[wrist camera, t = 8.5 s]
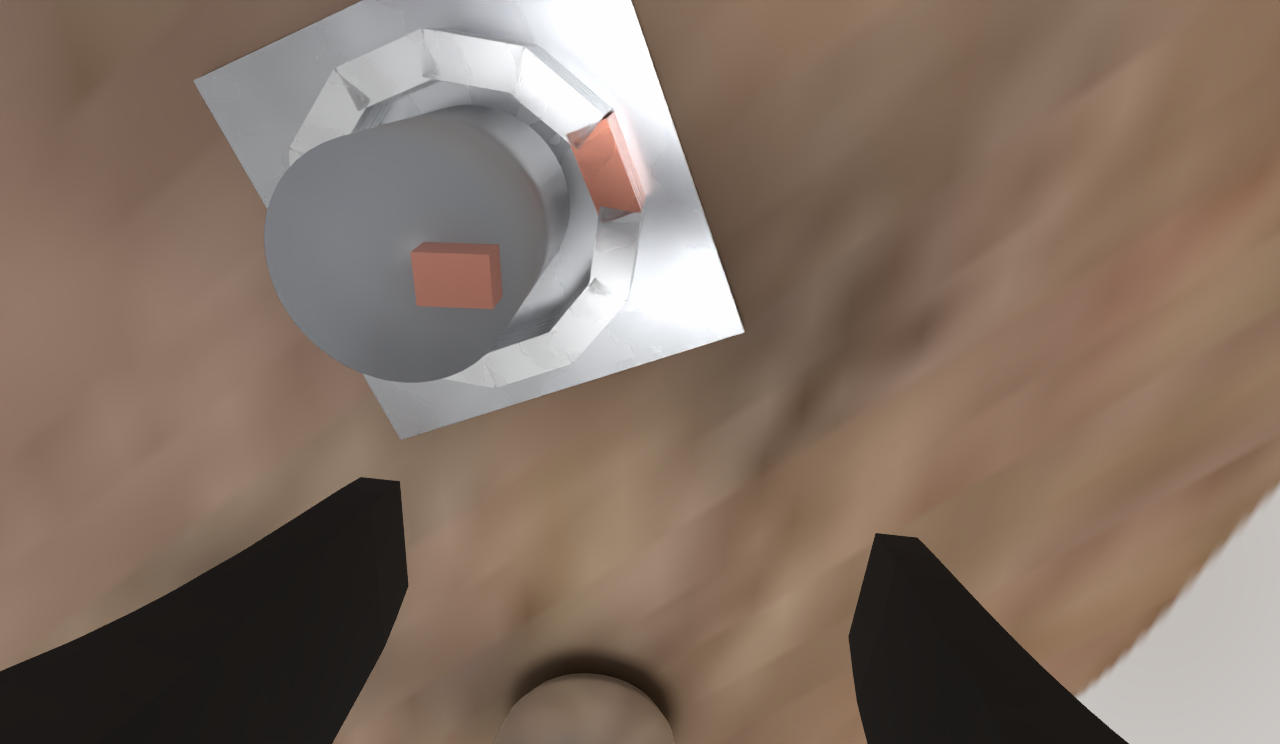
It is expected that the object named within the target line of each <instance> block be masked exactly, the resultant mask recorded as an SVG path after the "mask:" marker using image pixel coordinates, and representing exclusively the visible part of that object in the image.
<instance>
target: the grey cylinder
mask: <svg viewBox="0 0 1280 744" xmlns="http://www.w3.org/2000/svg"><path fill="white" fill-rule="evenodd" d="M569 205H570V204H569V193H568V188H567V184H566V180H565V177H564V174H563V171H562V168H561V166H560V164H559V162H558V160H557V158H556V156H555V155H554V153H553V152H552V150H551V149H550V147H549V146H548V145H547V143H546V142H545V141H544V140H543V139H542V138H541V136H540V135H539V134H537V133H536V132H535V131H534V130H533V129H532V128H531V127H530V126H528V125H527V124H525V123H524V122H523V121H521V120H520V119H518V118H516V117H514V116H512V115H511V114H509V113H506V112H504V111H501V110H498V109H496V108H491V107H487V106H481V105H457V106H452V107H447V108H443V109H440V110H436V111H432V112H428V113H425V114H421V115H417V116H414V117H410V118H406V119H403V120H399V121H395V122H392V123H388V124H384V125H381V126H377V127H373V128H370V129H366V130H362V131H359V132H355V133H351V134H348V135H344V136H340V137H337V138H334V139H332V140H329V141H326V142H323V143H321V144H319V145H318V146H316V147H314V148H312V149H310V150H309V151H307V152H306V153H305V154H304V155H302V156H301V157H300V158H298V159H297V160H296V161H295V162H294V163H293V164H292V165H291V166H290V168H289V169H288V170H287V171H286V172H285V174H284V175H283V177H282V178H281V180H280V181H279V183H278V184H277V186H276V188H275V190H274V193H273V195H272V197H271V199H270V203H269V206H268V210H267V214H266V220H265V228H264V247H265V254H266V262H267V266H268V269H269V273H270V277H271V280H272V282H273V285H274V287H275V290H276V292H277V295H278V296H279V298H280V300H281V302H282V304H283V306H284V308H285V309H286V311H287V312H288V314H289V315H290V317H291V318H292V319H293V321H294V322H295V324H296V325H297V326H298V327H299V328H300V329H301V331H302V332H303V333H304V334H305V335H306V336H307V337H308V338H309V339H310V340H311V341H312V342H313V343H314V344H315V345H316V346H318V347H319V348H320V349H321V350H323V351H324V352H325V353H327V354H328V355H329V356H331V357H332V358H334V359H335V360H337V361H339V362H340V363H342V364H344V365H345V366H347V367H349V368H352V369H354V370H356V371H358V372H360V373H363V374H366V375H369V376H372V377H375V378H379V379H383V380H388V381H395V382H404V383H419V382H428V381H435V380H439V379H442V378H446V377H450V376H452V375H454V374H457V373H459V372H461V371H463V370H465V369H467V368H468V367H470V366H472V365H473V364H475V363H476V362H477V361H479V360H480V359H481V358H482V357H483V356H485V355H486V354H487V353H488V352H489V351H490V349H491V348H492V347H493V346H494V345H495V344H496V342H497V341H498V339H499V338H500V336H501V335H502V333H503V332H504V331H505V329H506V328H507V326H508V325H509V323H510V322H511V320H512V319H513V317H514V316H515V314H516V313H517V311H518V310H519V308H520V307H521V305H522V304H523V302H524V301H525V299H526V298H527V296H528V295H529V293H530V292H531V290H532V289H533V287H534V286H535V284H536V283H537V281H538V280H539V278H540V277H541V275H542V274H543V272H544V271H545V269H546V268H547V266H548V265H549V263H550V262H551V260H552V259H553V257H554V256H555V254H556V253H557V251H558V250H559V248H560V246H561V244H562V242H563V239H564V236H565V233H566V230H567V226H568V220H569Z"/></svg>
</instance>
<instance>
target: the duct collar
mask: <svg viewBox="0 0 1280 744" xmlns="http://www.w3.org/2000/svg"><path fill="white" fill-rule="evenodd" d="M193 81H194V83H195V85H196V87H197V88H198V90H199V92H200V93H201V95H202V97H203V99H204V100H205V102H206V104H207V106H208V107H209V109H210V111H211V113H212V114H213V116H214V118H215V119H216V121H217V123H218V125H219V126H220V128H221V130H222V132H223V133H224V135H225V137H226V138H227V140H228V142H229V144H230V145H231V147H232V149H233V151H234V152H235V154H236V156H237V157H238V159H239V161H240V163H241V164H242V166H243V168H244V170H245V171H246V173H247V175H248V177H249V178H250V180H251V182H252V183H253V185H254V187H255V189H256V190H257V192H258V194H259V196H260V197H261V199H262V201H263V202H264V204H265V206H266V208H267V209H268V206H269V203H270V199H271V197H272V195H273V193H274V190H275V188H276V186H277V184H278V183H279V181H280V180H281V178H282V177H283V175H284V174H285V172H286V171H287V170H288V169H289V168H290V166H291V165H292V164H293V163H294V162H295V161H296V160H297V159H298V158H300V157H301V156H302V155H304V154H305V153H306V152H307V151H309V150H310V149H312V148H314V147H316V146H318V145H319V144H321V143H323V142H326V141H329V140H332V139H334V138H337V137H340V136H344V135H348V134H351V133H355V132H359V131H362V130H366V129H370V128H373V127H377V126H381V125H384V124H388V123H392V122H395V121H399V120H403V119H406V118H410V117H414V116H417V115H421V114H425V113H428V112H432V111H436V110H440V109H443V108H447V107H452V106H457V105H481V106H487V107H491V108H496V109H498V110H501V111H504V112H506V113H509V114H511V115H512V116H514V117H516V118H518V119H520V120H521V121H523V122H524V123H525V124H527V125H528V126H530V127H531V128H532V129H533V130H534V131H535V132H536V133H537V134H539V135H540V136H541V138H542V139H543V140H544V141H545V142H546V143H547V145H548V146H549V147H550V149H551V150H552V152H553V153H554V155H555V156H556V158H557V160H558V162H559V164H560V166H561V168H562V171H563V174H564V177H565V180H566V184H567V188H568V193H569V204H570V205H569V220H568V226H567V230H566V233H565V236H564V239H563V242H562V244H561V246H560V248H559V250H558V251H557V253H556V254H555V256H554V257H553V259H552V260H551V262H550V263H549V265H548V266H547V268H546V269H545V271H544V272H543V274H542V275H541V277H540V278H539V280H538V281H537V283H536V284H535V286H534V287H533V289H532V290H531V292H530V293H529V295H528V296H527V298H526V299H525V301H524V302H523V304H522V305H521V307H520V308H519V310H518V311H517V313H516V314H515V316H514V317H513V319H512V320H511V322H510V323H509V325H508V326H507V328H506V329H505V331H504V332H503V333H502V335H501V336H500V338H499V339H498V341H497V342H496V344H495V345H494V346H493V347H492V348H491V349H490V351H489V352H488V353H487V354H486V355H485V356H483V357H482V358H481V359H480V360H479V361H477V362H476V363H475V364H473V365H472V366H470V367H468V368H467V369H465V370H463V371H461V372H459V373H457V374H454V375H452V376H450V377H446V378H442V379H439V380H435V381H428V382H419V383H404V382H395V381H388V380H383V379H379V378H375V377H372V376H369V375H366V374H363V373H362V374H363V375H364V377H365V379H366V381H367V382H368V384H369V386H370V388H371V389H372V391H373V393H374V395H375V396H376V398H377V400H378V401H379V403H380V405H381V407H382V408H383V410H384V412H385V414H386V415H387V417H388V419H389V420H390V422H391V424H392V426H393V427H394V429H395V431H396V433H397V434H398V436H399V438H400V440H402V439H405V438H408V437H412V436H415V435H418V434H421V433H424V432H428V431H431V430H434V429H437V428H440V427H444V426H447V425H450V424H453V423H456V422H460V421H463V420H466V419H469V418H472V417H476V416H479V415H482V414H485V413H488V412H492V411H495V410H498V409H501V408H504V407H507V406H511V405H514V404H517V403H520V402H523V401H527V400H530V399H533V398H536V397H539V396H543V395H546V394H549V393H552V392H555V391H559V390H562V389H565V388H568V387H571V386H575V385H578V384H581V383H584V382H587V381H590V380H594V379H597V378H600V377H603V376H606V375H610V374H613V373H616V372H619V371H622V370H626V369H629V368H632V367H635V366H638V365H642V364H645V363H648V362H651V361H654V360H658V359H661V358H664V357H667V356H670V355H674V354H677V353H680V352H683V351H686V350H689V349H693V348H696V347H699V346H702V345H705V344H709V343H712V342H715V341H718V340H721V339H725V338H728V337H731V336H734V335H737V334H741V333H744V326H743V323H742V320H741V317H740V314H739V311H738V308H737V306H736V303H735V300H734V297H733V294H732V291H731V288H730V285H729V282H728V279H727V276H726V273H725V270H724V268H723V265H722V262H721V259H720V256H719V253H718V250H717V247H716V244H715V241H714V238H713V235H712V232H711V230H710V227H709V224H708V221H707V218H706V215H705V212H704V209H703V206H702V203H701V200H700V197H699V194H698V192H697V189H696V186H695V183H694V180H693V177H692V174H691V171H690V168H689V165H688V162H687V159H686V156H685V154H684V151H683V148H682V145H681V142H680V139H679V136H678V133H677V130H676V127H675V124H674V121H673V118H672V116H671V113H670V110H669V107H668V104H667V101H666V98H665V95H664V92H663V89H662V86H661V83H660V80H659V78H658V75H657V72H656V69H655V66H654V63H653V60H652V57H651V54H650V51H649V48H648V45H647V42H646V40H645V37H644V34H643V31H642V28H641V25H640V22H639V19H638V16H637V13H636V10H635V7H634V5H633V2H632V0H362V1H360V2H358V3H356V4H354V5H352V6H350V7H348V8H346V9H343V10H341V11H339V12H337V13H335V14H333V15H331V16H329V17H326V18H324V19H322V20H320V21H318V22H316V23H314V24H312V25H310V26H307V27H305V28H303V29H301V30H299V31H297V32H295V33H293V34H291V35H288V36H286V37H284V38H282V39H280V40H278V41H276V42H274V43H272V44H269V45H267V46H265V47H263V48H261V49H259V50H257V51H255V52H253V53H250V54H248V55H246V56H244V57H242V58H240V59H238V60H236V61H234V62H231V63H229V64H227V65H225V66H223V67H221V68H219V69H217V70H215V71H212V72H210V73H208V74H206V75H204V76H202V77H200V78H198V79H196V80H193Z"/></svg>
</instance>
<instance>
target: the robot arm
mask: <svg viewBox="0 0 1280 744" xmlns="http://www.w3.org/2000/svg"><path fill="white" fill-rule="evenodd" d="M407 588H408V575H407V563H406V551H405V539H404V526H403V514H402V502H401V490H400V481H391V480H382V479H373V478H364V477H360V478H359V479H357V480H355V481H353V482H352V483H350V484H348V485H347V486H345V487H343V488H342V489H340V490H338V491H337V492H335V493H334V494H332V495H330V496H329V497H327V498H326V499H324V500H323V501H321V502H319V503H318V504H316V505H315V506H313V507H312V508H310V509H309V510H307V511H305V512H304V513H302V514H301V515H299V516H298V517H296V518H295V519H293V520H291V521H290V522H288V523H287V524H285V525H283V526H282V527H280V528H279V529H277V530H275V531H274V532H272V533H271V534H269V535H267V536H266V537H264V538H263V539H261V540H260V541H258V542H256V543H255V544H253V545H252V546H250V547H248V548H247V549H245V550H243V551H242V552H240V553H238V554H237V555H235V556H233V557H231V558H230V559H228V560H226V561H224V562H223V563H221V564H219V565H217V566H216V567H214V568H212V569H211V570H209V571H207V572H205V573H204V574H202V575H200V576H198V577H197V578H195V579H193V580H191V581H190V582H188V583H186V584H184V585H183V586H181V587H179V588H177V589H176V590H174V591H172V592H170V593H168V594H167V595H165V596H163V597H161V598H159V599H157V600H155V601H153V602H151V603H149V604H147V605H146V606H144V607H142V608H140V609H138V610H136V611H134V612H132V613H130V614H128V615H126V616H124V617H122V618H120V619H117V620H115V621H113V622H111V623H109V624H107V625H105V626H103V627H101V628H99V629H97V630H95V631H93V632H90V633H88V634H86V635H84V636H82V637H80V638H78V639H75V640H73V641H71V642H69V643H67V644H64V645H62V646H59V647H57V648H55V649H52V650H50V651H48V652H45V653H43V654H40V655H38V656H36V657H33V658H31V659H29V660H26V661H24V662H21V663H19V664H17V665H14V666H12V667H9V668H7V669H5V670H2V671H0V744H332V743H333V741H334V739H335V737H336V735H337V734H338V732H339V730H340V728H341V726H342V725H343V723H344V721H345V719H346V717H347V715H348V714H349V712H350V710H351V708H352V706H353V705H354V703H355V701H356V699H357V697H358V695H359V694H360V692H361V690H362V688H363V686H364V684H365V683H366V681H367V679H368V677H369V675H370V673H371V671H372V670H373V668H374V666H375V664H376V662H377V660H378V658H379V656H380V655H381V653H382V651H383V649H384V647H385V645H386V642H387V640H388V637H389V635H390V632H391V630H392V627H393V625H394V623H395V620H396V618H397V615H398V612H399V610H400V607H401V604H402V602H403V599H404V596H405V594H406V591H407ZM849 644H850V652H851V661H852V669H853V677H854V684H855V691H856V698H857V704H858V708H859V712H860V716H861V720H862V724H863V728H864V732H865V736H866V739H867V743H868V744H1129V743H1127V742H1126V741H1125V740H1124V739H1122V738H1121V737H1120V736H1119V735H1118V734H1116V733H1115V732H1114V731H1113V730H1111V729H1110V728H1109V727H1108V726H1107V725H1106V724H1105V723H1103V722H1102V721H1101V720H1100V719H1099V718H1098V717H1097V716H1095V715H1094V714H1093V713H1092V712H1090V710H1088V709H1087V708H1086V707H1085V706H1084V705H1083V704H1082V703H1081V702H1080V701H1079V700H1077V699H1076V698H1075V697H1074V696H1073V695H1072V694H1071V693H1070V692H1069V691H1068V690H1067V689H1066V688H1065V687H1063V686H1062V685H1061V684H1060V683H1059V682H1058V681H1057V680H1056V679H1055V678H1054V677H1053V676H1052V675H1050V674H1049V673H1048V672H1047V671H1046V670H1045V669H1044V668H1043V667H1042V666H1041V665H1040V664H1039V663H1038V662H1037V661H1036V660H1035V659H1034V658H1033V657H1032V656H1031V655H1030V654H1029V653H1028V652H1027V651H1026V650H1025V649H1023V648H1022V647H1021V646H1020V645H1019V644H1018V643H1017V642H1016V641H1015V640H1014V638H1013V637H1012V636H1011V635H1010V634H1009V633H1008V632H1007V631H1006V630H1005V629H1004V628H1003V627H1002V626H1001V625H1000V624H999V623H998V622H997V621H996V620H995V619H994V618H993V617H992V616H991V615H990V614H989V613H988V612H987V611H986V610H985V609H984V608H983V607H982V605H981V604H980V603H979V602H978V601H977V600H976V599H975V598H974V597H973V596H972V595H971V594H970V593H969V592H968V591H967V590H966V588H965V587H964V586H963V585H962V584H961V583H960V582H959V581H958V580H957V579H956V578H955V577H954V576H953V575H952V573H951V572H950V571H949V570H948V569H947V568H946V567H945V566H944V565H943V564H942V563H941V562H940V561H939V559H938V558H937V557H936V556H935V555H934V554H933V553H932V552H931V551H930V550H929V549H928V548H927V547H926V546H925V545H924V544H923V543H922V542H921V541H920V540H919V539H918V538H915V537H906V536H897V535H888V534H878V533H876V534H875V538H874V542H873V545H872V549H871V553H870V557H869V561H868V565H867V568H866V572H865V576H864V580H863V584H862V587H861V591H860V595H859V599H858V603H857V606H856V610H855V614H854V618H853V622H852V625H851V629H850V633H849Z"/></svg>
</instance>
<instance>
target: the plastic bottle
mask: <svg viewBox="0 0 1280 744" xmlns="http://www.w3.org/2000/svg"><path fill="white" fill-rule="evenodd" d="M493 744H675V743H674V737H673V732H672V730H671V728H670V725H669V723H668V721H667V720H666V718H665V717H664V716H663V714H662V713H661V712H660V710H659V709H658V707H657V706H656V705H655V704H654V702H653V701H652V700H651V698H649V697H648V696H647V695H646V694H645V693H644V692H642V691H641V690H640V689H638V688H636V687H635V686H633V685H631V684H630V683H627V682H625V681H622V680H620V679H617V678H614V677H610V676H606V675H601V674H591V673H579V674H569V675H564V676H559V677H556V678H553V679H551V680H548V681H546V682H544V683H542V684H541V685H539V686H537V687H536V688H534V689H533V690H532V691H530V692H529V693H527V694H526V695H525V696H523V697H522V698H521V699H520V700H519V701H518V702H517V703H516V704H515V705H514V706H513V707H512V708H511V710H510V711H509V713H508V715H507V716H506V718H505V720H504V722H503V724H502V726H501V728H500V730H499V732H498V734H497V736H496V738H495V740H494V742H493Z"/></svg>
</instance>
